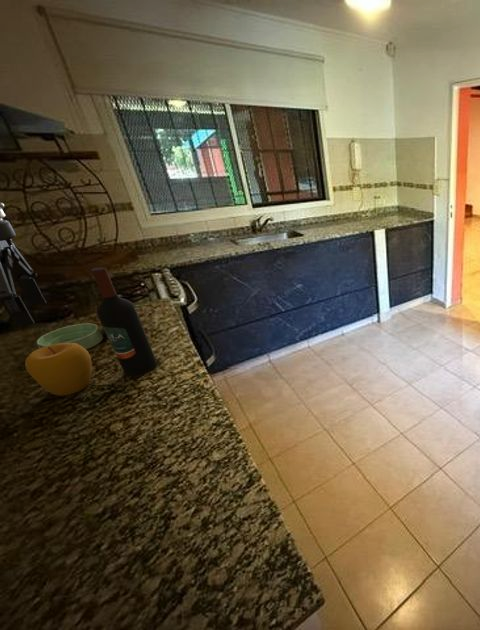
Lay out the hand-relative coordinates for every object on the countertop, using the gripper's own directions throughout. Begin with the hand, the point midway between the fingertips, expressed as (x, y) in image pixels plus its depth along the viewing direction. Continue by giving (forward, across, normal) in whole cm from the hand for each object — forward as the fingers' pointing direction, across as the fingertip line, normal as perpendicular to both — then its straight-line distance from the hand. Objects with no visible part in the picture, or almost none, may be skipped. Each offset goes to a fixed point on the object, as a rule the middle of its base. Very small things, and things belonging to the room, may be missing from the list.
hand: (32, 314), depth 80 cm
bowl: (+22, +28, +3) cm, 36 cm away
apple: (+22, 0, 0) cm, 22 cm away
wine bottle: (+22, 0, -14) cm, 26 cm away
